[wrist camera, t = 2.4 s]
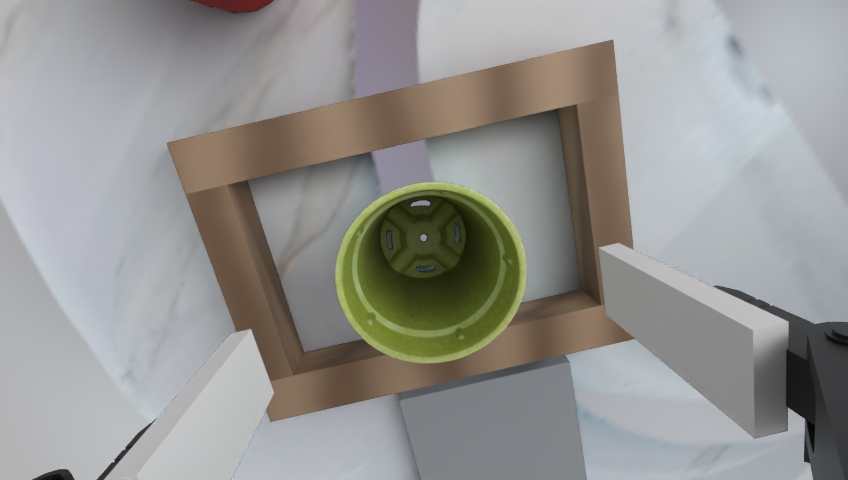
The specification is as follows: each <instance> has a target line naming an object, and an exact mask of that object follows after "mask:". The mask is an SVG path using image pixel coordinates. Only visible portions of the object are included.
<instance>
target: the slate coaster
mask: <svg viewBox="0 0 848 480" xmlns="http://www.w3.org/2000/svg"><path fill="white" fill-rule="evenodd" d="M399 403H400V407H401V411H402V414H403V418H404V422H405V425H406V429H407V432H408V436H409V440H410V443H411V447H412V451H413V454H414V458H415V462H416V465H417V469H418V472H419V476H420V480H587V477H586V470H585V463H584V457H583V450H582V443H581V436H580V430H579V423H578V416H577V410H576V403H575V396H574V389H573V383H572V376H571V369H570V362H569V361H568V359H567V358H566V357H565V355H562V356H557V357H553V358H548V359H544V360H540V361H535V362H531V363H526V364H522V365H518V366H513V367H509V368H505V369H500V370H496V371H491V372H487V373H483V374H478V375H474V376H469V377H465V378H461V379H456V380H452V381H448V382H443V383H439V384H434V385H430V386H426V387H421V388H417V389H412V390H408V391H404V392H399Z"/></svg>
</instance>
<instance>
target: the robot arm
mask: <svg viewBox="0 0 848 480" xmlns="http://www.w3.org/2000/svg"><path fill="white" fill-rule="evenodd" d="M599 256H600V265H601V274H602V282H603V291H604V299H605V308H606V315H607V316H608V317H610V318H611V319H612V320H613V321H614V322H616V323H617V324H618V325H619V326H620V327H622V328H623V329H624V330H625V331H626V332H628V333H629V334H630V335H631V336H632V337H634V338H635V339H636V340H637V341H638V342H640V343H641V344H642V345H643V346H644V347H646V348H647V349H648V350H649V351H650V352H652V353H653V354H654V355H655V356H656V357H658V358H659V359H660V360H661V361H662V362H664V363H665V364H666V365H667V366H668V367H670V368H671V369H672V370H673V371H674V372H676V373H677V374H678V375H679V376H680V377H682V378H683V379H684V380H685V381H686V382H687V383H689V384H690V385H691V386H692V387H693V388H695V389H696V390H697V391H698V392H699V393H701V394H702V395H703V396H704V397H705V398H707V399H708V400H709V401H710V402H711V403H713V404H714V405H715V406H716V407H718V408H719V409H720V410H721V411H722V412H723V413H725V414H726V415H727V416H728V417H730V418H731V419H732V420H733V421H734V422H735V423H737V424H738V425H739V426H740V427H741V428H743V429H744V430H745V431H746V432H747V433H749V434H750V435H751V436H752V437H753V438H759V437H764V436H768V435H772V434H776V433H780V432H785V431H787V430H788V408H790V409H791V410H793V411H794V412H796V413H798V414H799V415H800V416H802V417H803V418H805V446H804V462H808V463H810V464H811V470H812V475H813V480H848V323H847V322H826V323H819V324H814V323H811V322H809V321H807V320H804V319H802V318H800V317H798V316H795V315H793V314H791V313H789V312H786V311H784V310H782V309H779V308H777V307H775V306H770V305H769V304H768V303H766V302H764V301H761V300H759V299H758V300H756V299H755V298H754V297H752V296H750V295H748V294H745V293H743V292H741V291H739V290H734V289H730V288H725V287H721V286H710V285H708V284H706V283H704V282H702V281H700V280H698V279H695V278H693V277H691V276H689V275H687V274H685V273H682V272H680V271H678V270H676V269H674V268H672V267H669V266H667V265H665V264H663V263H661V262H659V261H657V260H654V259H652V258H650V257H648V256H646V255H644V254H641V253H639V252H637V251H635V250H633V249H631V248H628V247H626V246H624V245H622V244H620V243H616V244H612V245H608V246H603V247H599ZM273 394H274V391H273V388H272V385H271V383H270V380H269V377H268V374H267V372H266V369H265V366H264V363H263V361H262V358H261V355H260V352H259V350H258V347H257V344H256V342H255V339H254V336H253V333H252V331H251V329H248V330H244V331H240V332H235V333H231V334H230V335H229V336H228V337H227V338H226V339H225V340H224V342H223V343H222V344H221V345H220V346H219V347H218V349H217V350H216V351H215V352H214V353H213V354H212V355H211V357H210V358H209V359H208V360H207V361H206V362H205V364H204V365H203V366H202V367H201V368H200V369H199V370H198V372H197V373H196V374H195V375H194V376H193V377H192V379H191V380H190V381H189V382H188V383H187V384H186V385H185V387H184V388H183V389H182V390H181V391H180V392H179V394H178V395H177V396H176V397H175V398H174V399H173V400H172V402H171V403H170V404H169V405H168V406H167V407H166V409H165V410H164V411H163V412H162V413H161V414H160V415H159V417H158V418H157V419H155V420H154V421H153V422H152V423H150V424H149V425H148V426H146V427H145V428H144V429H143V430H142V431H140V432H139V433H138V434H137V435H136V436H135V437H134V439H133V440H132V441H131V442H130V443H129V444H128V445H127V447H126V450H123V451H122V452H121V453H120V454H119V456H117V458H116V459H115V462H113V463H111V464H110V465H109V467H108V468H107V469H106V470H105V471H104V472H103V473H102V475H101V476H100V477H99V478H98V479H97V480H232V478H233V476H234V474H235V472H236V470H237V468H238V466H239V464H240V462H241V460H242V457H243V455H244V453H245V451H246V449H247V447H248V445H249V443H250V441H251V439H252V437H253V435H254V433H255V431H256V429H257V427H258V425H259V423H260V421H261V419H262V417H263V415H264V413H265V411H266V408H267V406H268V404H269V402H270V400H271V398H272V396H273ZM33 480H74V478H73V476H72V474H71V473H70V472H69V470H66V469H59V470H55V471H52V472H49V473H46V474H43V475H41V476H39V477H37V478H35V479H33Z"/></svg>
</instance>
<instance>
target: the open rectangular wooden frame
mask: <svg viewBox="0 0 848 480" xmlns="http://www.w3.org/2000/svg"><path fill="white" fill-rule="evenodd" d="M553 109H558V116H559V124H560V131H561V138H562V146H563V153H564V161H565V168H566V176H567V183H568V191H569V198H570V206H571V213H572V221H573V228H574V236H575V243H576V251H577V258H578V266H579V273H580V281H581V288H582V289H581V290H576V291H572V292H568V293H563V294H559V295H555V296H550V297H546V298H541V299H537V300H533V301H528V302H524V303H520V305H519V308H518V310H517V312H516V314H515V315H514V317H513V318H512V320H511V321H510V323H509V324H508V325H507V327H506V328H505V329H504V330H503V331H502V332H501V333H500V334H499V335H498V336H497V337H496V338H495V339H493V340H492V341H491V342H490V343H489V344H487V345H486V346H484V347H482V348H481V349H479V350H477V351H475V352H473V353H472V354H469V355H467V356H465V357H462V358H459V359H456V360H452V361H447V362H441V363H427V364H426V363H414V362H408V361H403V360H399V359H397V358H393V357H391V356H389V355H387V354H384V353H383V352H381V351H379V350H377V349H375V348H374V347H372V346H371V345H370V344H368V343H367V342H366V341H365V340H364V339H362V340H358V341H353V342H349V343H345V344H340V345H336V346H332V347H327V348H323V349H318V350H314V351H310V352H305V353H304V352H303V349H302V346H301V343H300V340H299V337H298V334H297V331H296V328H295V325H294V322H293V319H292V316H291V313H290V310H289V307H288V304H287V301H286V297H285V294H284V291H283V288H282V285H281V282H280V279H279V276H278V273H277V270H276V267H275V264H274V261H273V258H272V255H271V252H270V249H269V246H268V243H267V240H266V237H265V234H264V231H263V228H262V225H261V222H260V219H259V216H258V213H257V210H256V207H255V204H254V201H253V198H252V195H251V192H250V189H249V186H248V183H247V180H250V179H254V178H258V177H263V176H267V175H271V174H276V173H280V172H284V171H289V170H293V169H297V168H302V167H306V166H310V165H315V164H319V163H323V162H328V161H332V160H336V159H341V158H345V157H349V156H354V155H358V154H362V153H367V152H371V151H375V150H380V149H384V148H388V147H393V146H397V145H401V144H406V143H409V142H414V141H419V140H423V139H427V138H432V137H436V136H440V135H445V134H449V133H453V132H458V131H462V130H466V129H471V128H475V127H479V126H484V125H488V124H492V123H497V122H501V121H505V120H510V119H514V118H518V117H523V116H527V115H531V114H536V113H540V112H544V111H549V110H553ZM167 146H168V148H169V151H170V154H171V156H172V159H173V162H174V164H175V167H176V170H177V172H178V175H179V178H180V181H181V183H182V186H183V189H184V191H185V194H186V197H187V199H188V202H189V205H190V207H191V210H192V213H193V215H194V218H195V221H196V223H197V226H198V229H199V231H200V234H201V237H202V240H203V242H204V245H205V248H206V250H207V253H208V256H209V258H210V261H211V264H212V266H213V269H214V272H215V274H216V277H217V280H218V282H219V285H220V288H221V290H222V293H223V296H224V298H225V301H226V304H227V307H228V309H229V312H230V315H231V317H232V320H233V323H234V325H235V328H236V331H237V332H240V331H244V330H248V329H251V331H252V333H253V336H254V339H255V342H256V344H257V347H258V350H259V352H260V355H261V358H262V361H263V363H264V366H265V369H266V372H267V374H268V377H269V380H270V383H271V385H272V388H273V391H274V394H273V396H272V398H271V400H270V402H269V404H268V406H267V408H266V411H267V414H268V416H269V419H270V422H272V421H276V420H281V419H285V418H290V417H294V416H298V415H303V414H307V413H312V412H316V411H320V410H325V409H329V408H333V407H338V406H342V405H347V404H351V403H355V402H360V401H364V400H369V399H373V398H377V397H382V396H386V395H391V394H395V393H399V392H404V391H408V390H412V389H417V388H421V387H426V386H430V385H434V384H439V383H443V382H448V381H452V380H456V379H461V378H465V377H469V376H474V375H478V374H483V373H487V372H491V371H496V370H500V369H505V368H509V367H513V366H518V365H522V364H526V363H531V362H535V361H540V360H544V359H548V358H553V357H557V356H562V355H566V354H570V353H575V352H579V351H583V350H588V349H592V348H597V347H601V346H605V345H610V344H614V343H619V342H623V341H627V340H632V339H635V338H634V337H632V336H631V335H630V334H629V333H628V332H626V331H625V330H624V329H623V328H622V327H620V326H619V325H618V324H617V323H616V322H614V321H613V320H612V319H611V318H610V317H608V316H607V315H606V308H605V299H604V291H603V282H602V274H601V265H600V256H599V247H603V246H608V245H612V244H616V243H620V244H622V245H624V246H626V247H628V248H631V249H633V240H632V230H631V219H630V209H629V199H628V188H627V178H626V167H625V157H624V147H623V136H622V126H621V116H620V105H619V95H618V85H617V74H616V64H615V54H614V43H613V40H609V41H605V42H601V43H596V44H592V45H588V46H583V47H579V48H575V49H570V50H566V51H562V52H557V53H553V54H549V55H544V56H540V57H536V58H531V59H527V60H523V61H518V62H514V63H510V64H505V65H501V66H497V67H493V68H488V69H484V70H480V71H475V72H471V73H467V74H462V75H458V76H454V77H449V78H445V79H441V80H436V81H432V82H428V83H423V84H419V85H415V86H411V87H406V88H402V89H397V90H393V91H389V92H384V93H380V94H376V95H371V96H367V97H363V98H358V99H354V100H350V101H345V102H341V103H337V104H332V105H328V106H324V107H320V108H315V109H311V110H307V111H302V112H298V113H294V114H289V115H285V116H281V117H276V118H272V119H268V120H263V121H259V122H255V123H250V124H246V125H242V126H237V127H233V128H229V129H224V130H220V131H216V132H211V133H207V134H203V135H198V136H194V137H190V138H185V139H181V140H177V141H172V142H168V143H167Z"/></svg>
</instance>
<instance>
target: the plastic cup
mask: <svg viewBox="0 0 848 480" xmlns="http://www.w3.org/2000/svg"><path fill="white" fill-rule="evenodd" d="M192 1H195V2H198V3H201V4H204V5H207V6H209V7H217V8H220V9H223V10H226V11H229V12H232V13H238V12H250V11H257V10H259V9H261V8H262V7H264V6H266V5H267V4H269V3H271V2H272V1H273V0H192Z"/></svg>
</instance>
